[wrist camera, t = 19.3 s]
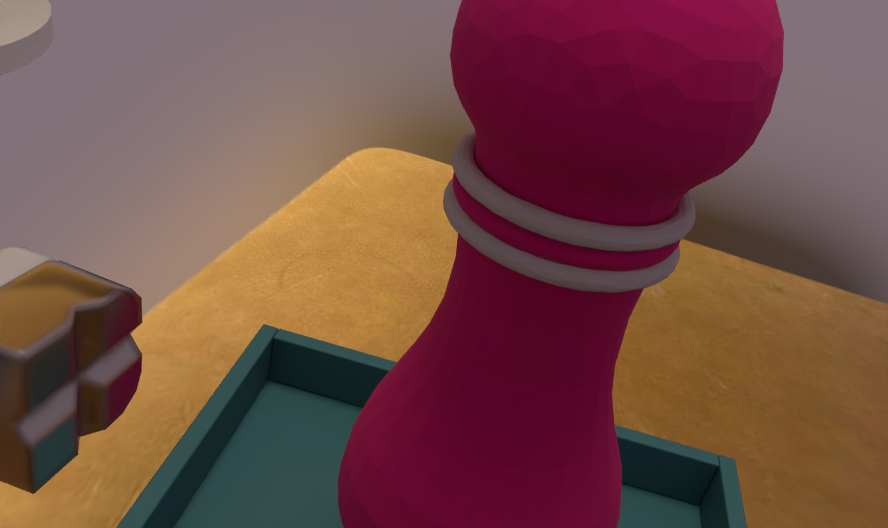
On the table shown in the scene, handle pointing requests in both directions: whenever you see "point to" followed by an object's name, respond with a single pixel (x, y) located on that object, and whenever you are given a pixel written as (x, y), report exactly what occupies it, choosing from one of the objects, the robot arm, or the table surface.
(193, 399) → the table surface
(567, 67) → the pepper mill
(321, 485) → the tray
